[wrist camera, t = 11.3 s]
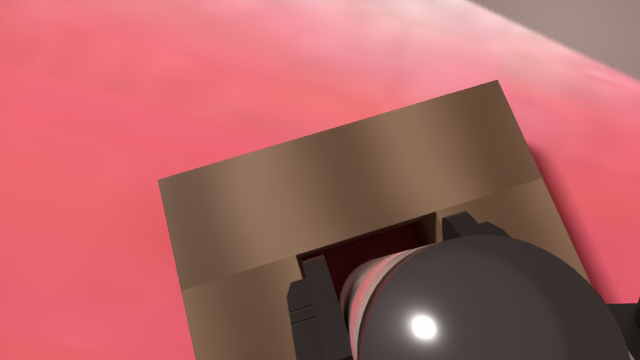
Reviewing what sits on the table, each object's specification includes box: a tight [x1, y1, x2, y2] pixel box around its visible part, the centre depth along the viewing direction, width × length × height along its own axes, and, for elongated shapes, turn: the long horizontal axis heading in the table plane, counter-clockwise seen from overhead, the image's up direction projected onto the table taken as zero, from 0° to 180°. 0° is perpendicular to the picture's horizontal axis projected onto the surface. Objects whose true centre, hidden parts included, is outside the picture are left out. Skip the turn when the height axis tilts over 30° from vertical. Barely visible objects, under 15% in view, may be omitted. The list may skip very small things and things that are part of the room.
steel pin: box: [339, 235, 631, 360], centre depth 11 cm, size 4×4×11 cm
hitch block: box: [158, 80, 591, 360], centre depth 17 cm, size 15×15×4 cm
